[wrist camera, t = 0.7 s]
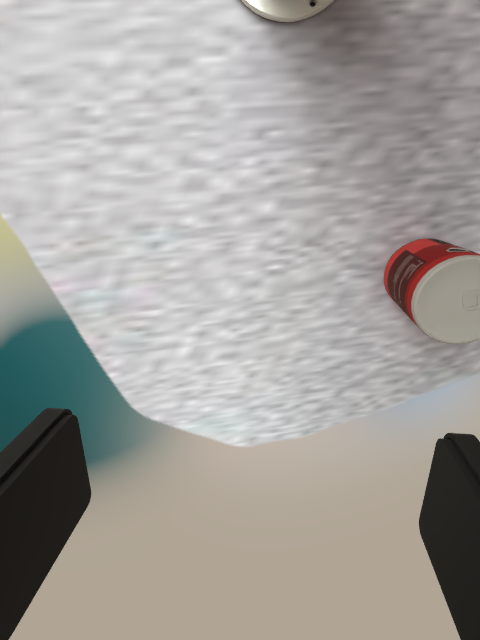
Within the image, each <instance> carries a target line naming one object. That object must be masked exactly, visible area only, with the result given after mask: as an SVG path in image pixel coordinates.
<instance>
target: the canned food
mask: <svg viewBox="0 0 480 640" xmlns="http://www.w3.org/2000/svg"><path fill="white" fill-rule="evenodd" d="M384 284H385V288H386V290H387V292H388V294H389V295H390V297H391V298H392V299H393V300H394V301H395V302H396V303H397V304H398V305H399V307H400V308H401V309H402V310H403V311H404V312H405V313H406V314H407V315H408V316H409V318H410V319H411V320H412V321H413V322H414V323H415V324H416V325H417V326H418V327H419V328H420V329H421V330H422V331H423V332H424V333H426V334H427V335H428V336H430V337H431V338H433V339H436V340H438V341H440V342H445V343H450V344H462V343H469V342H473V341H477V340H479V339H480V254H477V253H475V252H472V251H469V250H466V249H463V248H461V247H458V246H455V245H452V244H450V243H447V242H444V241H441V240H437V239H421V240H416V241H413V242H410V243H408V244H407V245H405V246H403V247H401V248H400V249H399V250H397V251H396V252H395V253H394V254H393V255H392V257H391V258H390V260H389V261H388V263H387V266H386V268H385V273H384Z"/></svg>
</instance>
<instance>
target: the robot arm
mask: <svg viewBox="0 0 480 640" xmlns="http://www.w3.org/2000/svg"><path fill="white" fill-rule="evenodd" d="M241 1H242V2H243V3H244V4H245V5H246V6H247V7H248V8H250V9H251V10H252V11H253V12H255V13H256V14H258V15H260V16H262V17H264V18H266V19H270V20H274V21H278V22H294V21H299V20H303V19H307V18H309V17H311V16H313V15H315V14H318V13H319V12H321V11H322V10H323V9H325V8H326V7H328V6H329V5H330V4H331V3H332V2H333V1H334V0H241ZM311 2H315V6H314V7H312V6H310V3H311ZM90 498H91V488H90V483H89V477H88V472H87V467H86V461H85V456H84V450H83V446H82V440H81V434H80V429H79V423H78V419H77V417H76V416H75V415H72V412H71V411H70V410H68V409H56V408H47V409H45V410H44V411H42V412H41V413H40V415H38V416H37V417H36V418H35V419H34V420H33V421H32V422H31V424H29V425H28V426H27V427H26V428H25V429H24V430H23V431H22V432H21V433H20V434H19V435H18V436H17V437H16V438H15V439H14V440H13V441H12V442H11V443H10V444H9V445H8V446H7V447H6V448H5V449H4V450H3V451H2V452H1V453H0V640H8V639H9V638H10V636H11V635H12V633H13V632H14V630H15V628H16V627H17V625H18V623H19V622H20V620H21V618H22V616H23V615H24V613H25V611H26V610H27V608H28V606H29V604H30V603H31V601H32V599H33V598H34V596H35V594H36V593H37V591H38V589H39V588H40V586H41V584H42V583H43V581H44V579H45V577H46V576H47V574H48V572H49V571H50V569H51V567H52V565H53V564H54V562H55V561H56V559H57V557H58V555H59V554H60V552H61V550H62V549H63V547H64V545H65V544H66V542H67V540H68V539H69V537H70V535H71V534H72V532H73V530H74V528H75V527H76V525H77V523H78V522H79V520H80V518H81V516H82V515H83V513H84V511H85V510H86V508H87V506H88V504H89V502H90ZM419 528H420V534H421V536H422V539H423V542H424V545H425V547H426V550H427V552H428V555H429V558H430V560H431V563H432V566H433V568H434V571H435V573H436V576H437V579H438V581H439V584H440V586H441V589H442V592H443V594H444V597H445V599H446V602H447V604H448V607H449V610H450V612H451V615H452V618H453V620H454V623H455V625H456V628H457V631H458V633H459V636H460V639H461V640H480V442H479V440H478V439H477V438H476V437H475V436H474V435H471V434H455V433H447V434H446V435H445V436H444V439H438V441H437V443H436V447H435V451H434V455H433V460H432V464H431V469H430V473H429V478H428V483H427V487H426V491H425V496H424V500H423V505H422V509H421V513H420V518H419Z"/></svg>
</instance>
